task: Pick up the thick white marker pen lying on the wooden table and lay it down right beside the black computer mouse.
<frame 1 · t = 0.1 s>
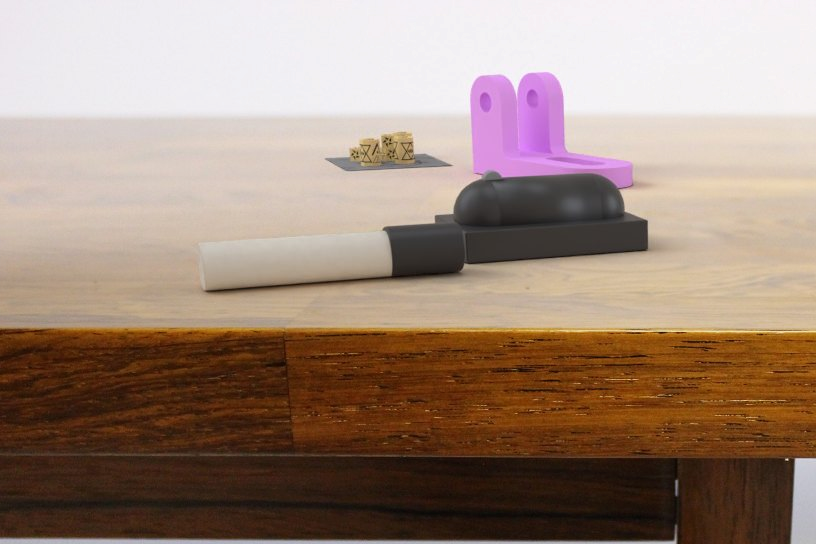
dice set: (387, 164, 114), on the table
bracket: (559, 181, 106), on the table
mouse: (541, 247, 80), on the table
pen: (333, 279, 71), on the table
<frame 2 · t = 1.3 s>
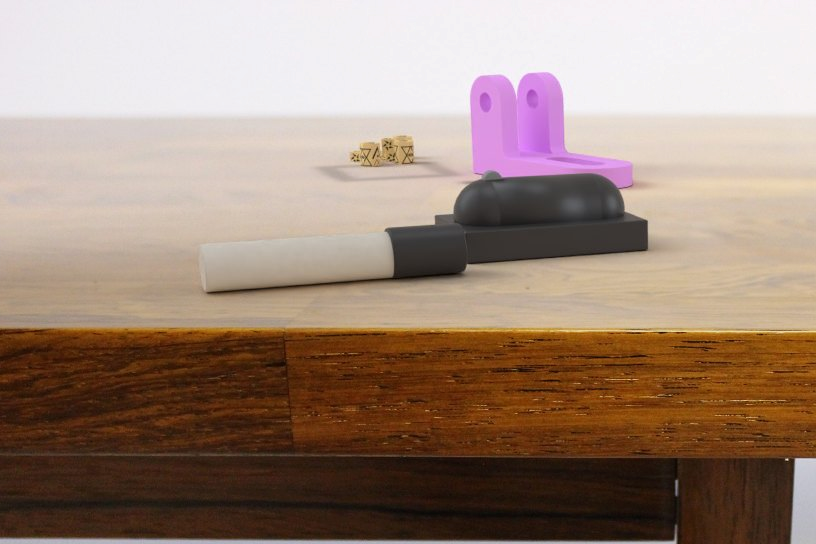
pen: (333, 277, 71), on the table, tilted 24°
everything else where it was.
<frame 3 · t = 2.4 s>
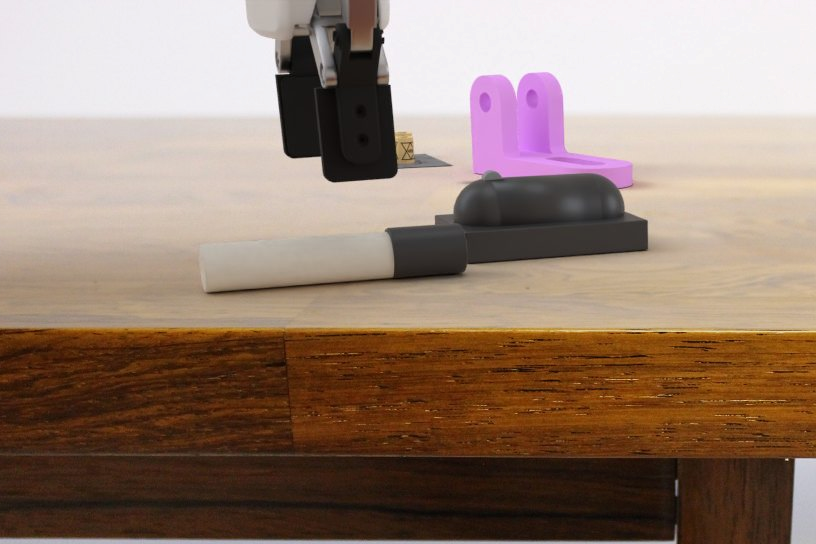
hand: (338, 167, 70), 5 cm above the table, tool pointing down, fingers open, 9 cm apart
nothing on the table moved.
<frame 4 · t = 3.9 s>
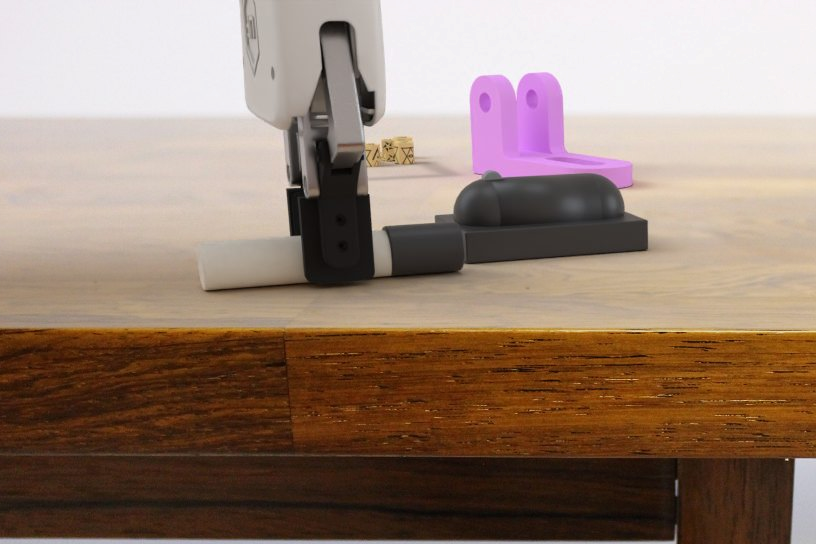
hand: (333, 272, 71), 0 cm above the table, tool pointing down, fingers closed on pen, 2 cm apart
pen: (333, 279, 71), on the table, touching gripper
everything else where it was.
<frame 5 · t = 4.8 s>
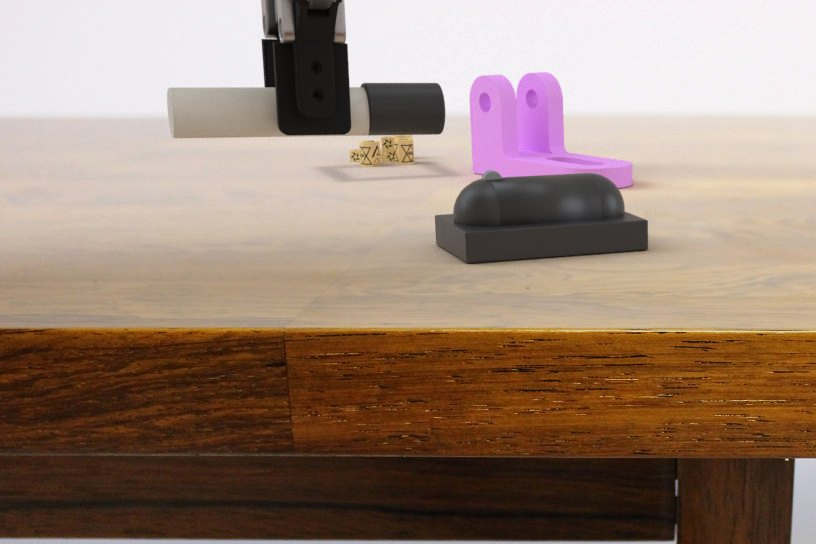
hand: (308, 127, 69), 7 cm above the table, tool pointing down, fingers closed on pen
pen: (308, 136, 69), point 7 cm above the table, touching gripper
everything else where it was.
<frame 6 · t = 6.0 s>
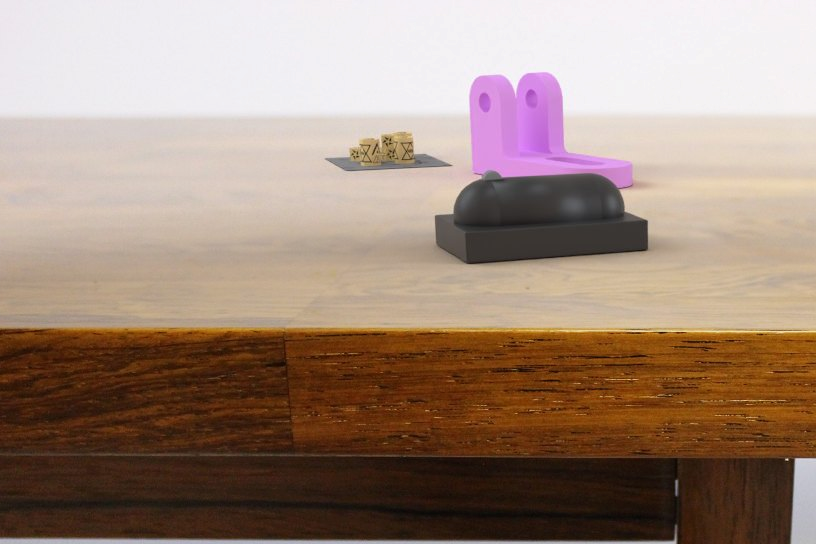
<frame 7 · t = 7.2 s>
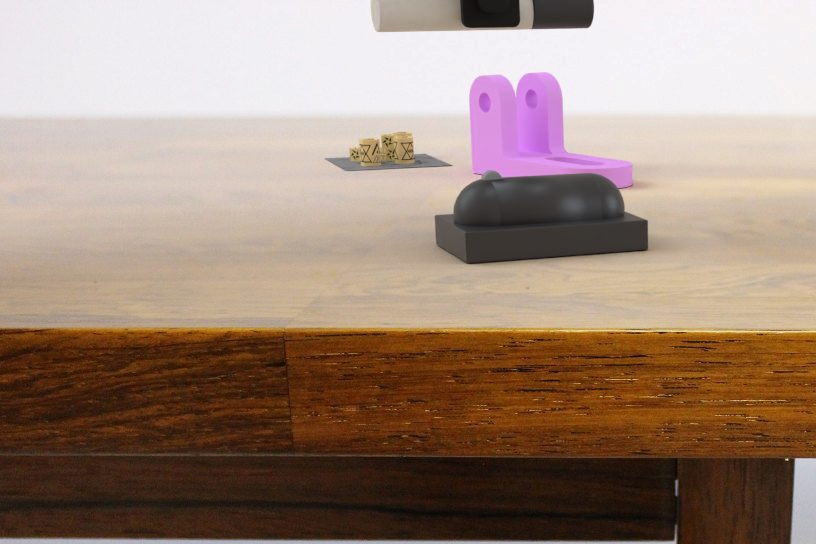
hand: (483, 23, 83), 11 cm above the table, tool pointing down, fingers closed on pen
pen: (483, 30, 83), point 11 cm above the table, touching gripper
everything else where it was.
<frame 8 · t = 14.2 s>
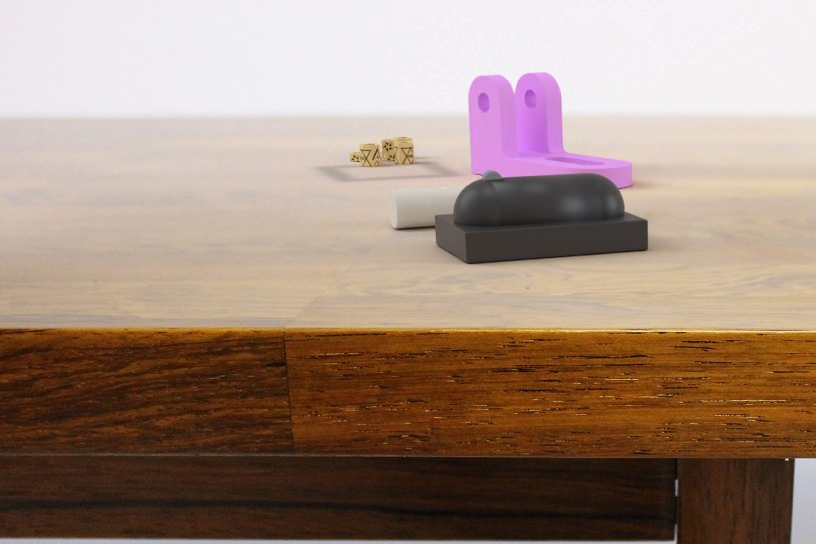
pen: (496, 221, 87), on the table, tilted 23°
everything else where it was.
at the end: pen 8.6 cm from the mouse (horizontally); pen on the table; mouse moved 0.0 cm from its start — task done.
